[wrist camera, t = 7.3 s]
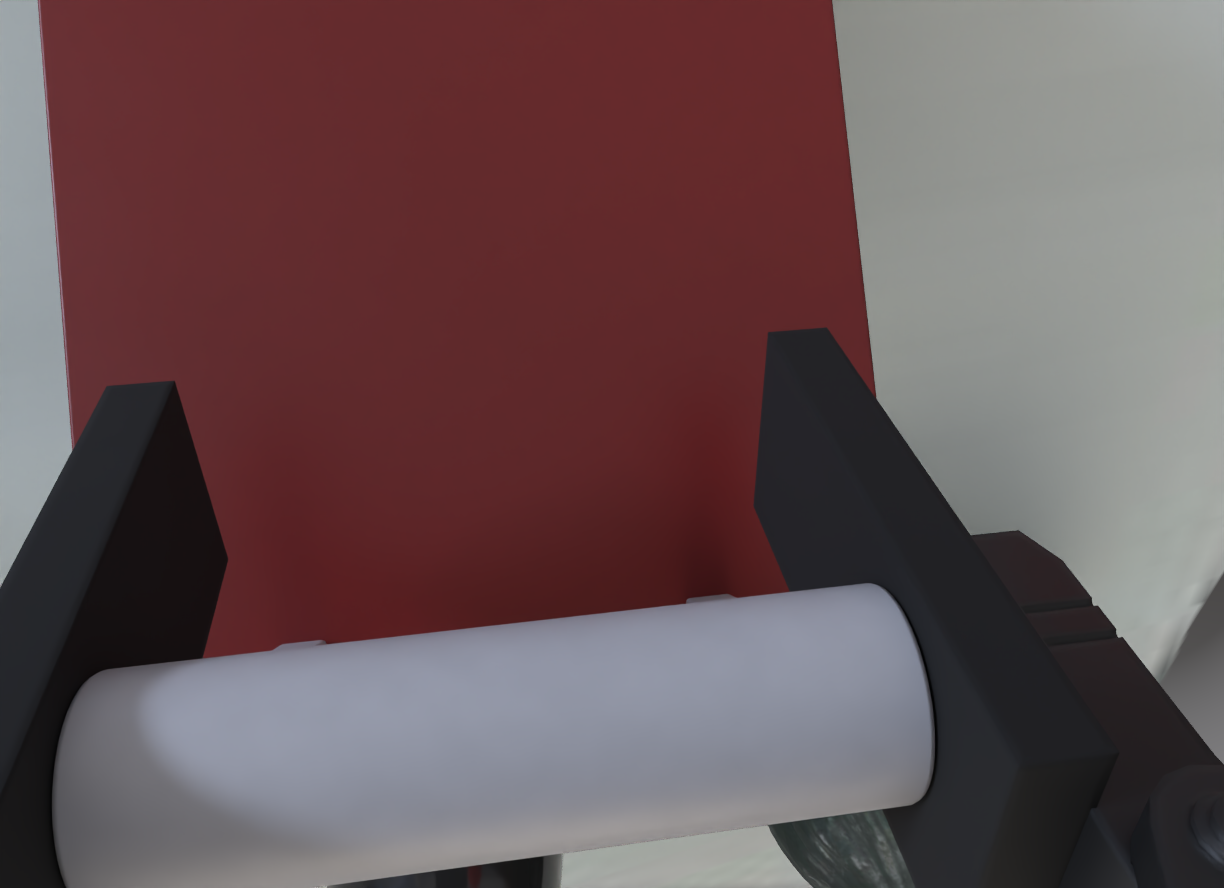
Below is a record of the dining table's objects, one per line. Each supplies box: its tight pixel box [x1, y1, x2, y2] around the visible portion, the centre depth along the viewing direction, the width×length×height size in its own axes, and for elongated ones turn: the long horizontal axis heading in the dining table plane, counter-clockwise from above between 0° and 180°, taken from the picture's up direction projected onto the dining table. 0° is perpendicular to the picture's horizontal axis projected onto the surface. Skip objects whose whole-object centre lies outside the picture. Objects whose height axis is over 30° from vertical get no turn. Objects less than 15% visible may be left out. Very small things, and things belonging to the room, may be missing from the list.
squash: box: [768, 809, 915, 888], centre depth 43 cm, size 14×15×15 cm
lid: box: [38, 0, 935, 888], centre depth 12 cm, size 18×12×8 cm
